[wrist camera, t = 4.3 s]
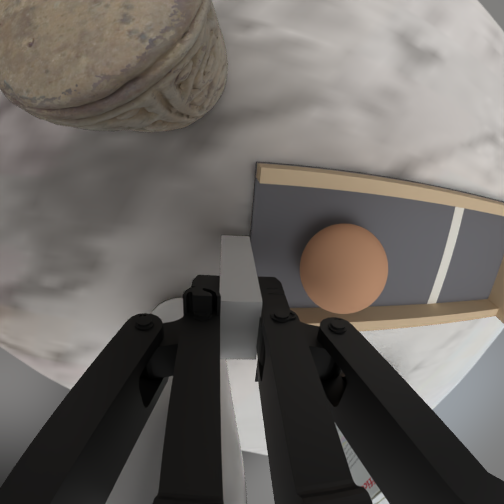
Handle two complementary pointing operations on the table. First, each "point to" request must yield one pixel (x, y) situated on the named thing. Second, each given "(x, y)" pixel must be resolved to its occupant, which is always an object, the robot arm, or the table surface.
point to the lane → (384, 243)
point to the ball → (343, 268)
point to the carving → (112, 62)
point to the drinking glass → (152, 436)
